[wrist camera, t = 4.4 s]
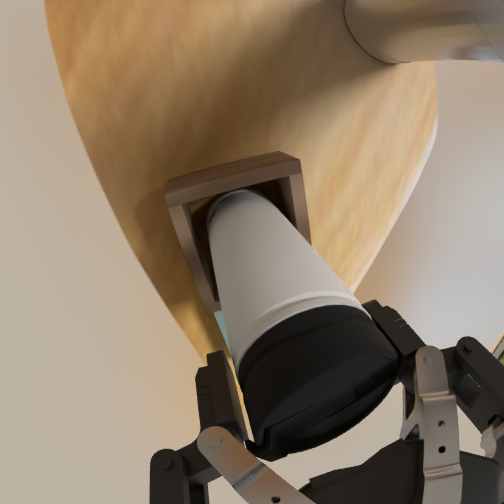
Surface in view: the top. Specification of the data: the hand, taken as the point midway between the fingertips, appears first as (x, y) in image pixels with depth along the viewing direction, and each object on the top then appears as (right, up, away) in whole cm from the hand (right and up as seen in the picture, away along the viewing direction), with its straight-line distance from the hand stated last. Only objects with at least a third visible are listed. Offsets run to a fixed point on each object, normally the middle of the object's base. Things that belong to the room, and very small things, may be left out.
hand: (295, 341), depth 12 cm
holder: (-3, +7, +13) cm, 15 cm away
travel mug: (-3, +7, +13) cm, 16 cm away
